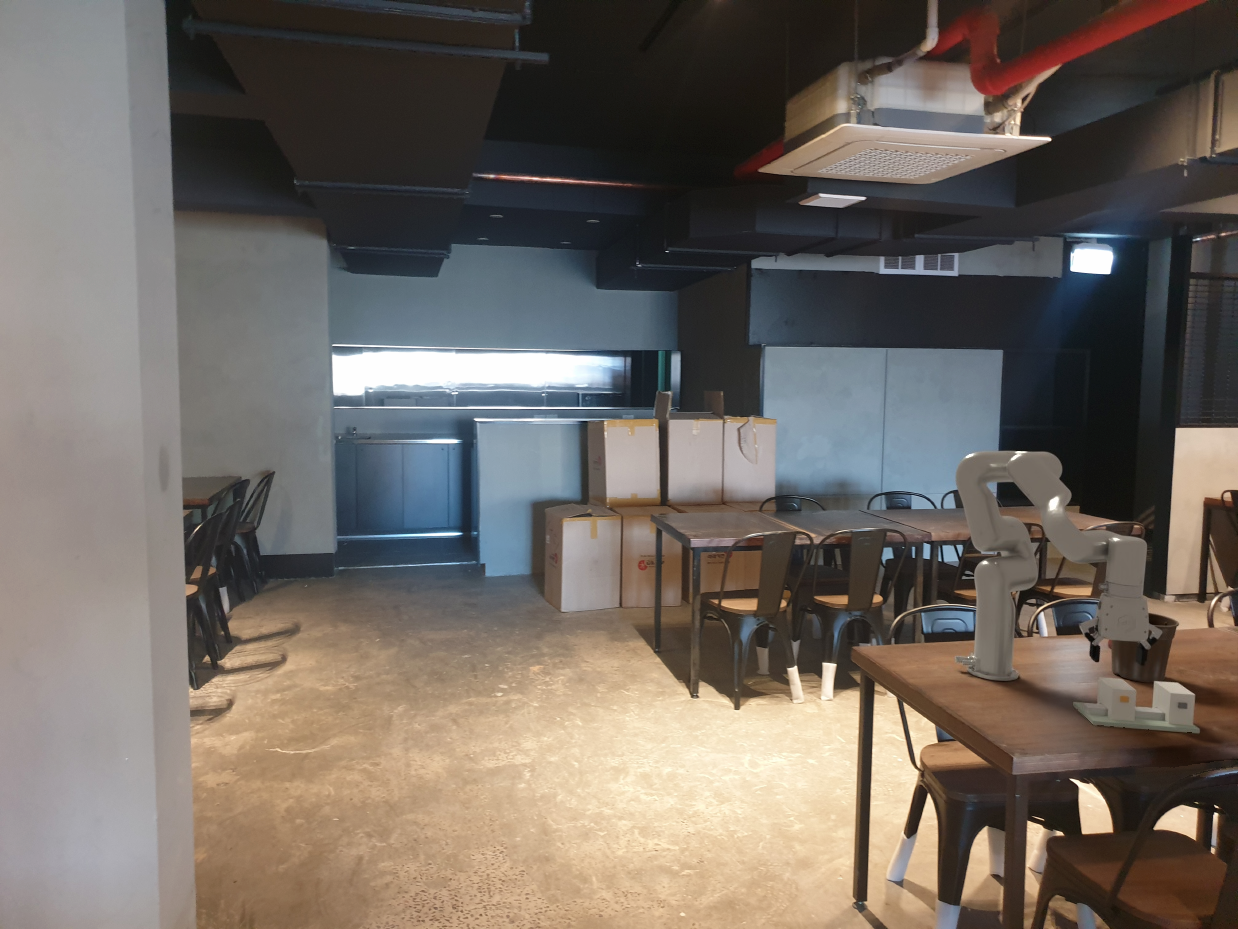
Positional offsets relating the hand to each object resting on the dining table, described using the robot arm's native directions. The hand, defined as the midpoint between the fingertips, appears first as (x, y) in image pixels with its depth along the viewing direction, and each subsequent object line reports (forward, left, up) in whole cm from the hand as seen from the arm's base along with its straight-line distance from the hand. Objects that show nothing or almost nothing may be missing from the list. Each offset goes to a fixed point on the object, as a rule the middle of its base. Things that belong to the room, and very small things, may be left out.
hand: (1117, 662), depth 192 cm
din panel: (+4, 0, -13) cm, 14 cm away
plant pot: (+19, +34, -13) cm, 41 cm away
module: (0, 0, -12) cm, 12 cm away
